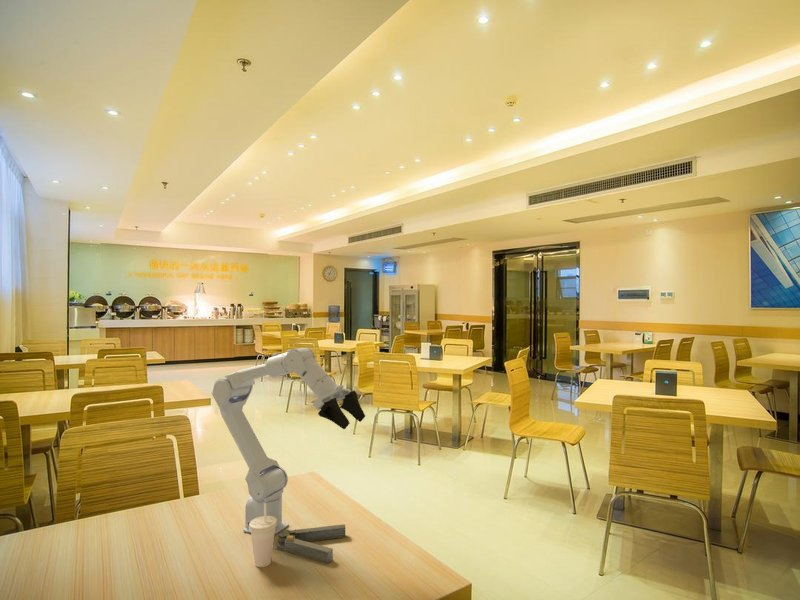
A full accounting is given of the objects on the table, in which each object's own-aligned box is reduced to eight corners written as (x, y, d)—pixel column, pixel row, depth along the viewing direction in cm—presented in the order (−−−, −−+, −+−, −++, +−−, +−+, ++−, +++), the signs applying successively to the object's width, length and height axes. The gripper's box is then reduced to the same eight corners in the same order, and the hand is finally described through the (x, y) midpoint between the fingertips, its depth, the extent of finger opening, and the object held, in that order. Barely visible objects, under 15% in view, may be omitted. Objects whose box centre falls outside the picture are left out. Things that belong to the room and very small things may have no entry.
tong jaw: (278, 546, 112) (278, 535, 112) (279, 540, 115) (279, 530, 115) (345, 538, 116) (345, 528, 116) (344, 532, 119) (344, 523, 119)
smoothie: (268, 572, 102) (268, 510, 102) (243, 568, 103) (243, 508, 103) (281, 556, 108) (281, 498, 108) (257, 553, 109) (257, 496, 109)
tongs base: (271, 547, 112) (271, 533, 112) (284, 539, 116) (283, 525, 116) (328, 563, 105) (328, 548, 105) (339, 554, 109) (339, 539, 109)
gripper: (312, 376, 107) (348, 418, 103) (344, 368, 120) (378, 405, 116) (297, 397, 109) (331, 438, 105) (330, 387, 122) (362, 423, 118)
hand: (355, 422), depth 110 cm, fingers open, 7 cm apart
